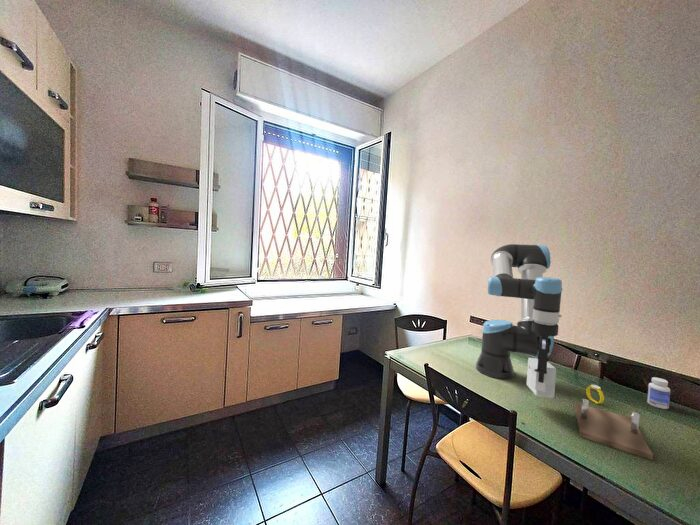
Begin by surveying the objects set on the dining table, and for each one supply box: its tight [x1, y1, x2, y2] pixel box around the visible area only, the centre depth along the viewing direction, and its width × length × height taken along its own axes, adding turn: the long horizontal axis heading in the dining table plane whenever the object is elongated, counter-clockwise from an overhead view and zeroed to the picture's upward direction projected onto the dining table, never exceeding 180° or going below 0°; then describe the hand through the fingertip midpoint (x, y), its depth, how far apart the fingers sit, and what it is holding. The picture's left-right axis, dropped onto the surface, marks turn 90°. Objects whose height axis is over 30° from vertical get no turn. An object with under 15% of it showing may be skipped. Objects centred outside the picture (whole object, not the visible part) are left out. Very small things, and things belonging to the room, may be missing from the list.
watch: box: [585, 384, 605, 405], centre depth 102 cm, size 6×3×6 cm, turn 2°
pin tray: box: [573, 398, 654, 461], centre depth 86 cm, size 15×20×8 cm
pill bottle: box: [646, 376, 671, 410], centre depth 101 cm, size 5×5×10 cm
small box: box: [526, 357, 557, 399], centre depth 96 cm, size 8×6×10 cm
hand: (540, 384), depth 96 cm, fingers closed on small box, 9 cm apart
